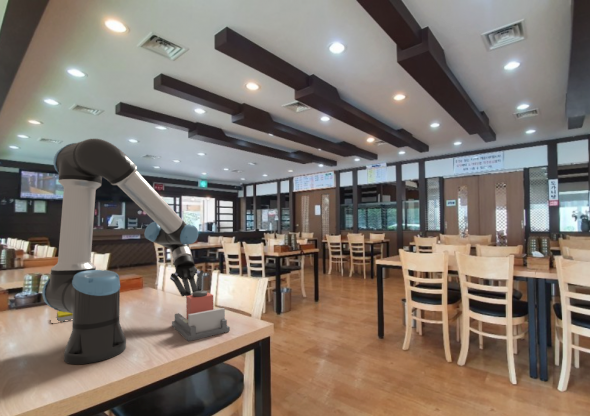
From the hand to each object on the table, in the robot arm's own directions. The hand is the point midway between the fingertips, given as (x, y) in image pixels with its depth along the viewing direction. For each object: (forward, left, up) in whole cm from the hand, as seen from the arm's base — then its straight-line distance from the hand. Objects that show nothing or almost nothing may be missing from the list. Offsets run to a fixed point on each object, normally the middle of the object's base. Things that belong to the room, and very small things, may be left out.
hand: (196, 309), depth 114 cm
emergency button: (-37, +44, -6) cm, 57 cm away
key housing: (0, -4, -6) cm, 7 cm away
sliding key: (0, -5, -4) cm, 6 cm away
